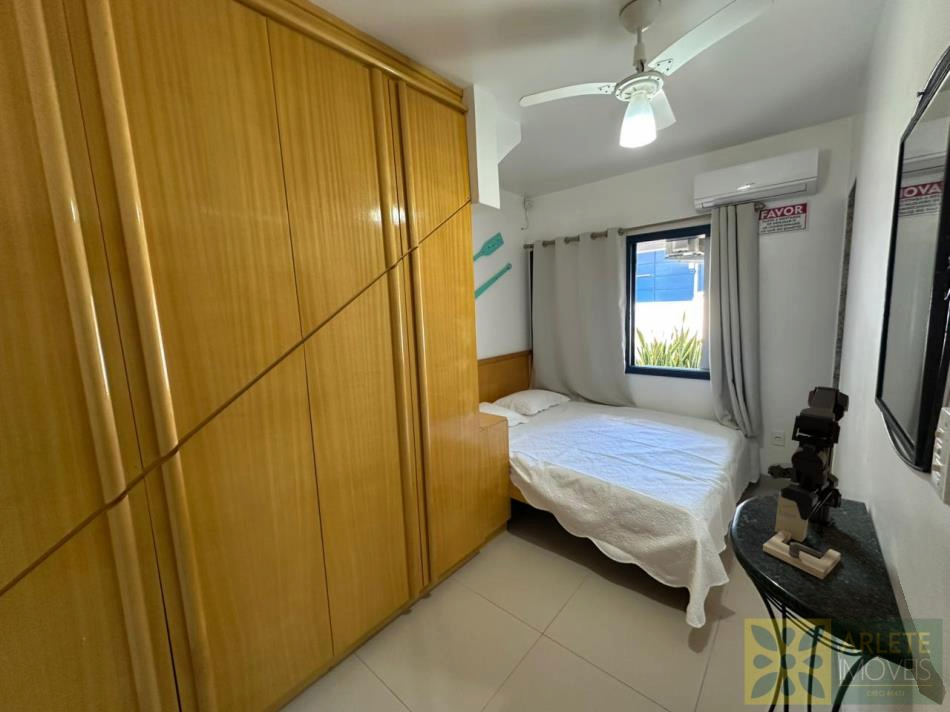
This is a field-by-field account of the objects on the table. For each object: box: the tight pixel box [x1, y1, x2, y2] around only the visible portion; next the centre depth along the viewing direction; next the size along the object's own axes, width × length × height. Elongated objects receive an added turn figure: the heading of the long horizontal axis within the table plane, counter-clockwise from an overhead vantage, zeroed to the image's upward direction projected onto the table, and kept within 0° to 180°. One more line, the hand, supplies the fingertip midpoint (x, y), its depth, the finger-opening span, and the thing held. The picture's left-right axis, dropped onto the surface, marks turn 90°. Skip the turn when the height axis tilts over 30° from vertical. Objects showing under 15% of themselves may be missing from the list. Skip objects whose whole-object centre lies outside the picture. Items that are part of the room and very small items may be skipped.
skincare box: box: [774, 491, 809, 543], centre depth 101 cm, size 6×4×12 cm
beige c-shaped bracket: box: [762, 529, 841, 580], centre depth 93 cm, size 12×12×6 cm
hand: (807, 516), depth 93 cm, fingers open, 4 cm apart
